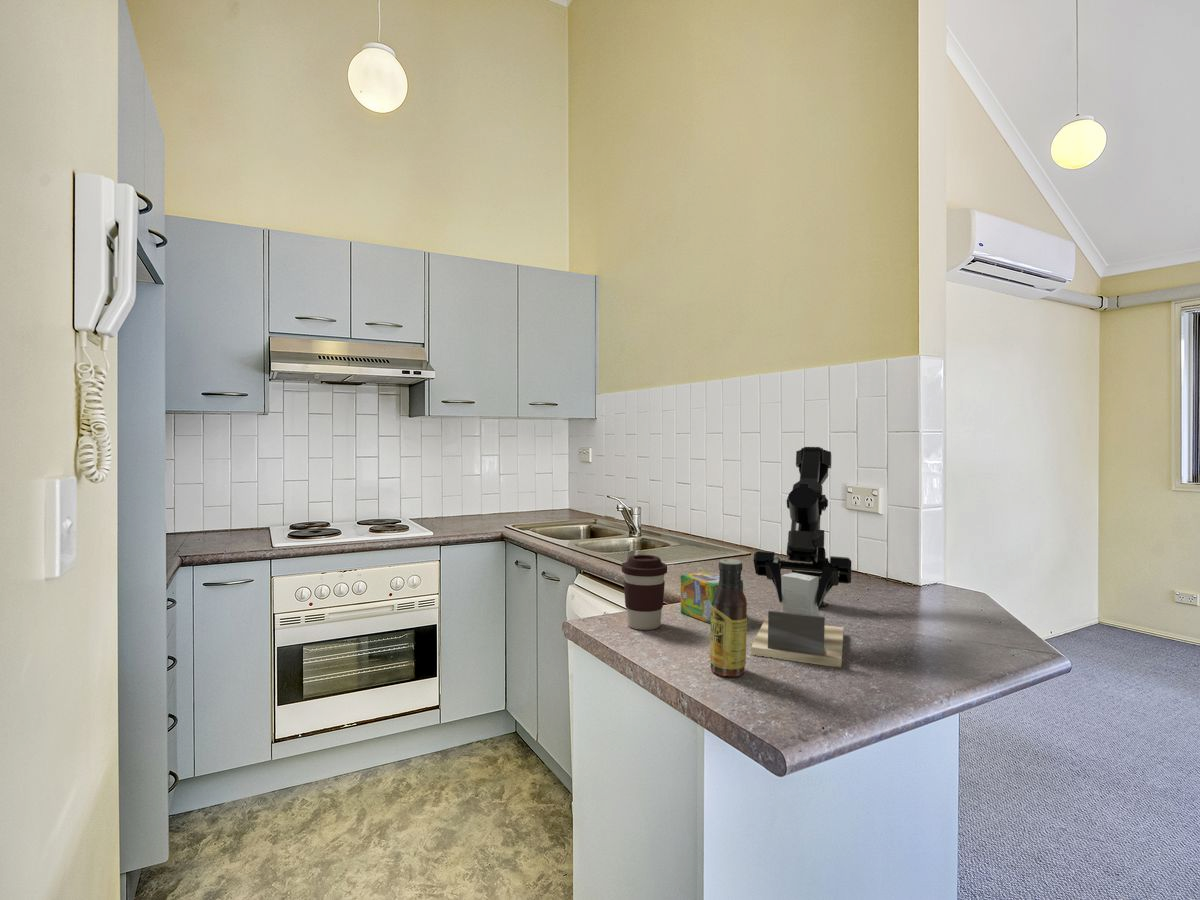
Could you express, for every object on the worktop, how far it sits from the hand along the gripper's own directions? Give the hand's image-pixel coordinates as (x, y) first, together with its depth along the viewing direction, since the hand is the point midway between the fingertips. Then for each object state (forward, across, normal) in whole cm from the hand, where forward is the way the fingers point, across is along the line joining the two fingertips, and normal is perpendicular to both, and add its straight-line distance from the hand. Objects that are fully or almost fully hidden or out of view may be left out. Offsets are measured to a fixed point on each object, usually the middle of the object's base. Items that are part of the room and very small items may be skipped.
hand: (798, 603), depth 120 cm
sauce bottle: (+19, -10, -6) cm, 22 cm away
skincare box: (+4, 0, +6) cm, 7 cm away
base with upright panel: (+4, 0, +9) cm, 10 cm away
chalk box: (-9, -25, +16) cm, 32 cm away
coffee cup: (+5, -32, +8) cm, 34 cm away
